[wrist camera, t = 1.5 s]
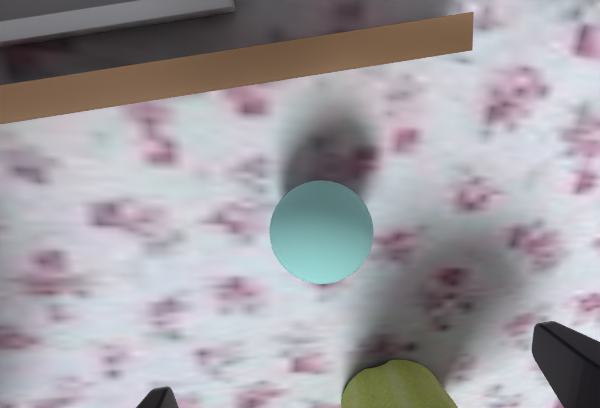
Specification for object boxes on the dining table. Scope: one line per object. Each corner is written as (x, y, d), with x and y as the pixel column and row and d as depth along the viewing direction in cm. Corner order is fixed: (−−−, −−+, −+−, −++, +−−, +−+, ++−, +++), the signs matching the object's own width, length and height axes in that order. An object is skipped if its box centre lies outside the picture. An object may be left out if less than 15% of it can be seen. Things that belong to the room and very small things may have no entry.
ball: (363, 244, 19) (389, 295, 15) (278, 257, 19) (279, 314, 15) (356, 160, 17) (382, 193, 13) (262, 176, 17) (259, 213, 13)
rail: (436, 51, 16) (472, 50, 13) (-14, 121, 15) (-77, 136, 13) (436, 19, 15) (473, 11, 12) (-28, 92, 15) (-96, 100, 12)
